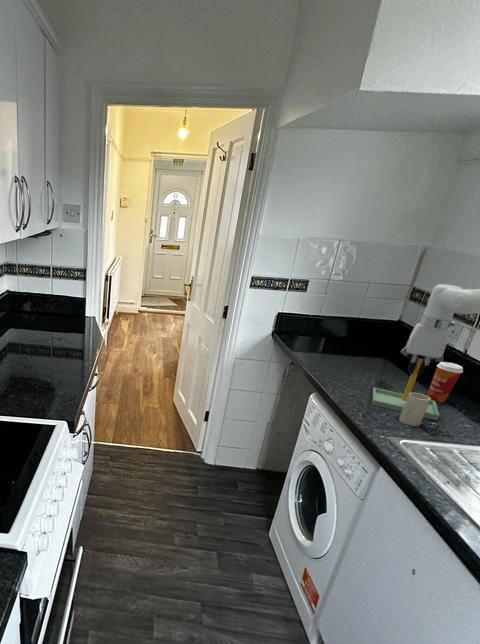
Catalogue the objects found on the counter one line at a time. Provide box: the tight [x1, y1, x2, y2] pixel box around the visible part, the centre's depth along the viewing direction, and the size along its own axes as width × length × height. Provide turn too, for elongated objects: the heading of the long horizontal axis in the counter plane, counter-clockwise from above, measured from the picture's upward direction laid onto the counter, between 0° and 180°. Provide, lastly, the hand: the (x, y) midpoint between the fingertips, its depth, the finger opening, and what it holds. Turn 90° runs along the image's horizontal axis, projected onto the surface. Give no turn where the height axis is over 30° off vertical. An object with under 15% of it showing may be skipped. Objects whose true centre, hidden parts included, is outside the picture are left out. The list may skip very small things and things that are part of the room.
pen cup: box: [398, 391, 431, 427], centre depth 135 cm, size 6×6×10 cm
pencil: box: [401, 357, 425, 401], centre depth 146 cm, size 2×2×16 cm
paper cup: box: [426, 361, 464, 403], centre depth 153 cm, size 8×8×14 cm
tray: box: [371, 387, 441, 422], centre depth 149 cm, size 19×14×2 cm
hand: (414, 373), depth 145 cm, fingers closed on pencil, 1 cm apart
